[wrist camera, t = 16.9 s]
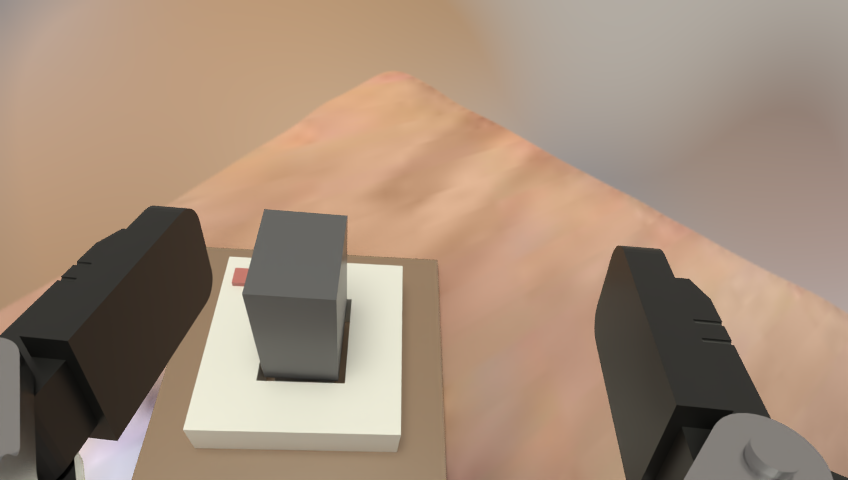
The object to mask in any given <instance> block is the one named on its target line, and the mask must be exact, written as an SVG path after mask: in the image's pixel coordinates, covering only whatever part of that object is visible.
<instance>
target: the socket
mask: <svg viewBox="0 0 848 480" xmlns="http://www.w3.org/2000/svg"><path fill="white" fill-rule="evenodd" d="M206 249H207V253H208V257H209V261H210V265H211V269H212V275H213V283H212V290H211V294H210V297H209V299H208V301H207V303H206V305H205V306H204V308H203V309H202V311H201V312H200V314H199V315H198V317H197V319H196V320H195V322H194V323H193V325H192V326H191V328H190V329H189V331H188V332H187V334H186V336H185V337H184V339H183V340H182V342H181V343H180V345H179V346H178V348H177V349H176V351H175V353H174V354H173V356H172V357H171V359H170V360H169V362H168V364H167V367H166V370H165V374H164V377H163V380H162V383H161V387H160V390H159V393H158V396H157V399H156V403H155V406H154V409H153V412H152V416H151V419H150V422H149V425H148V428H147V432H146V435H145V438H144V441H143V445H142V448H141V451H140V454H139V457H138V461H137V464H136V467H135V470H134V474H133V477H132V480H446V459H445V434H444V410H443V385H442V361H441V337H440V312H439V288H438V263H437V260H428V259H410V258H392V257H374V256H356V255H347V308H346V317H345V326H344V335H343V344H342V352H341V361H340V370H339V379H338V381H335V382H334V383H314V382H283V381H275V378H271V377H264V375H263V371H262V367H261V363H260V360H259V356H258V352H257V348H256V345H255V341H254V337H253V333H252V330H251V326H250V322H249V318H248V315H247V311H246V307H245V303H244V299H243V296H242V292H243V288H244V285H245V281H246V277H247V273H248V269H249V266H250V262H251V258H252V254H253V250H248V249H230V248H212V247H206Z"/></svg>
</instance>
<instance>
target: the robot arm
mask: <svg viewBox="0 0 848 480" xmlns="http://www.w3.org/2000/svg"><path fill="white" fill-rule="evenodd" d="M61 277H62V279H61V281H59V280H57V281H56V282H55V283H54V284H53V285H52V286H51V287H50V288H49V289H48V290H47V291H46V292H45V293H44V294H43V295H42V296H41V297H40V298H38V299H37V300H36V301H35V302H34V303H33V304H32V305H31V306H30V307H29V308H28V309H27V310H26V311H25V312H24V313H23V314H22V315H21V316H20V317H19V318H18V319H17V320H16V321H15V322H14V323H12V324H11V325H10V326H9V327H8V328H7V329H6V330H5V331H4V332H3V333H2V334H1V335H0V480H85V475H84V465H83V460H82V458H81V456H80V454H79V450H80V449H81V448H82V446H83V445H84V443H85V442H86V440H87V439H88V438H97V439H106V440H115V441H118V439H119V438H120V436H121V434H122V433H123V431H124V430H125V428H126V427H127V425H128V424H129V422H130V421H131V419H132V417H133V416H134V414H135V413H136V411H137V410H138V408H139V407H140V405H141V404H142V402H143V400H144V399H145V397H146V396H147V394H148V393H149V391H150V390H151V388H152V387H153V385H154V383H155V382H156V380H157V379H158V377H159V376H160V374H161V373H162V371H163V370H164V368H165V366H166V365H167V363H168V362H169V360H170V359H171V357H172V356H173V354H174V353H175V351H176V349H177V348H178V346H179V345H180V343H181V342H182V340H183V339H184V337H185V336H186V334H187V332H188V331H189V329H190V328H191V326H192V325H193V323H194V322H195V320H196V319H197V317H198V315H199V314H200V312H201V311H202V309H203V308H204V306H205V305H206V303H207V301H208V299H209V297H210V294H211V290H212V283H213V275H212V269H211V265H210V261H209V257H208V253H207V249H206V245H205V241H204V237H203V233H202V229H201V225H200V221H199V218H198V216H197V214H196V212H195V211H194V210H192V209H187V208H175V207H163V206H150V207H148V208H147V209H146V210H145V211H144V212H143V213H142V214H141V215H140V216H139V217H138V218H137V219H136V220H135V221H134V222H133V223H132V224H131V225H130V226H129V227H128V228H127V229H121V230H119V231H117V232H116V233H114V234H112V235H110V236H108V237H107V238H105V239H103V240H101V241H100V242H97V243H96V244H95V245H94V246H93V247H92V248H91V249H89V250H88V251H87V252H86V253H85V254H84V255H83V256H82V257H81V258H80V259H79V260H78V261H77V265H73V266H72V267H71V268H70V269H69V270H68V271H67V272H66V273H64V274H63V275H62V276H61ZM595 340H596V345H597V349H598V354H599V358H600V363H601V368H602V372H603V377H604V381H605V386H606V390H607V395H608V399H609V404H610V408H611V413H612V418H613V422H614V427H615V431H616V436H617V440H618V445H619V449H620V454H621V458H622V463H623V468H624V472H625V477H626V480H848V478H847V477H844V476H841V475H839V474H837V473H834V472H832V471H830V469H829V467H828V465H827V464H826V462H825V460H824V459H823V458H822V456H821V455H820V454H819V452H818V451H817V450H816V449H815V448H814V447H813V446H812V445H811V444H810V443H809V442H808V441H807V440H806V439H805V438H803V437H802V436H801V435H799V434H798V433H797V432H795V431H794V430H792V429H790V428H789V427H787V426H786V425H784V424H781V423H779V422H777V421H775V420H773V419H771V418H770V416H769V414H768V412H767V410H766V408H765V406H764V404H763V402H762V400H761V398H760V396H759V394H758V392H757V390H756V388H755V386H754V384H753V382H752V380H751V378H750V376H749V374H748V372H747V370H746V368H745V366H744V364H743V362H742V360H741V358H740V356H739V354H738V352H737V350H736V348H735V347H734V345H731V339H730V337H729V335H728V333H727V331H726V329H725V327H724V326H722V321H721V319H720V317H719V315H718V313H717V311H716V309H715V307H714V305H713V303H712V301H711V299H710V298H709V297H708V296H707V295H706V294H704V293H703V292H702V291H701V290H700V289H699V288H698V287H697V286H696V285H695V284H694V283H693V282H692V281H691V280H690V279H684V278H675V277H674V275H673V272H672V270H671V268H670V266H669V263H668V261H667V259H666V257H665V254H664V253H663V251H662V250H660V249H654V248H642V247H630V246H617V247H616V248H615V250H614V252H613V254H612V257H611V260H610V264H609V267H608V271H607V274H606V278H605V281H604V284H603V288H602V291H601V295H600V298H599V302H598V305H597V309H596V314H595Z"/></svg>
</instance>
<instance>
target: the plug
mask: <svg viewBox="0 0 848 480" xmlns="http://www.w3.org/2000/svg"><path fill="white" fill-rule="evenodd" d="M242 296H243V299H244V303H245V307H246V311H247V315H248V318H249V322H250V326H251V330H252V333H253V337H254V341H255V345H256V348H257V352H258V356H259V360H260V363H261V367H262V371H263V375H264V377H271V378H275V381H283V382H314V383H334V382H335V381H338V379H339V370H340V361H341V352H342V344H343V335H344V326H345V317H346V308H347V216H343V215H330V214H318V213H305V212H293V211H280V210H267V209H264V213H263V216H262V220H261V224H260V228H259V232H258V235H257V239H256V243H255V247H254V250H253V254H252V258H251V262H250V266H249V269H248V273H247V277H246V281H245V285H244V288H243V292H242Z"/></svg>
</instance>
